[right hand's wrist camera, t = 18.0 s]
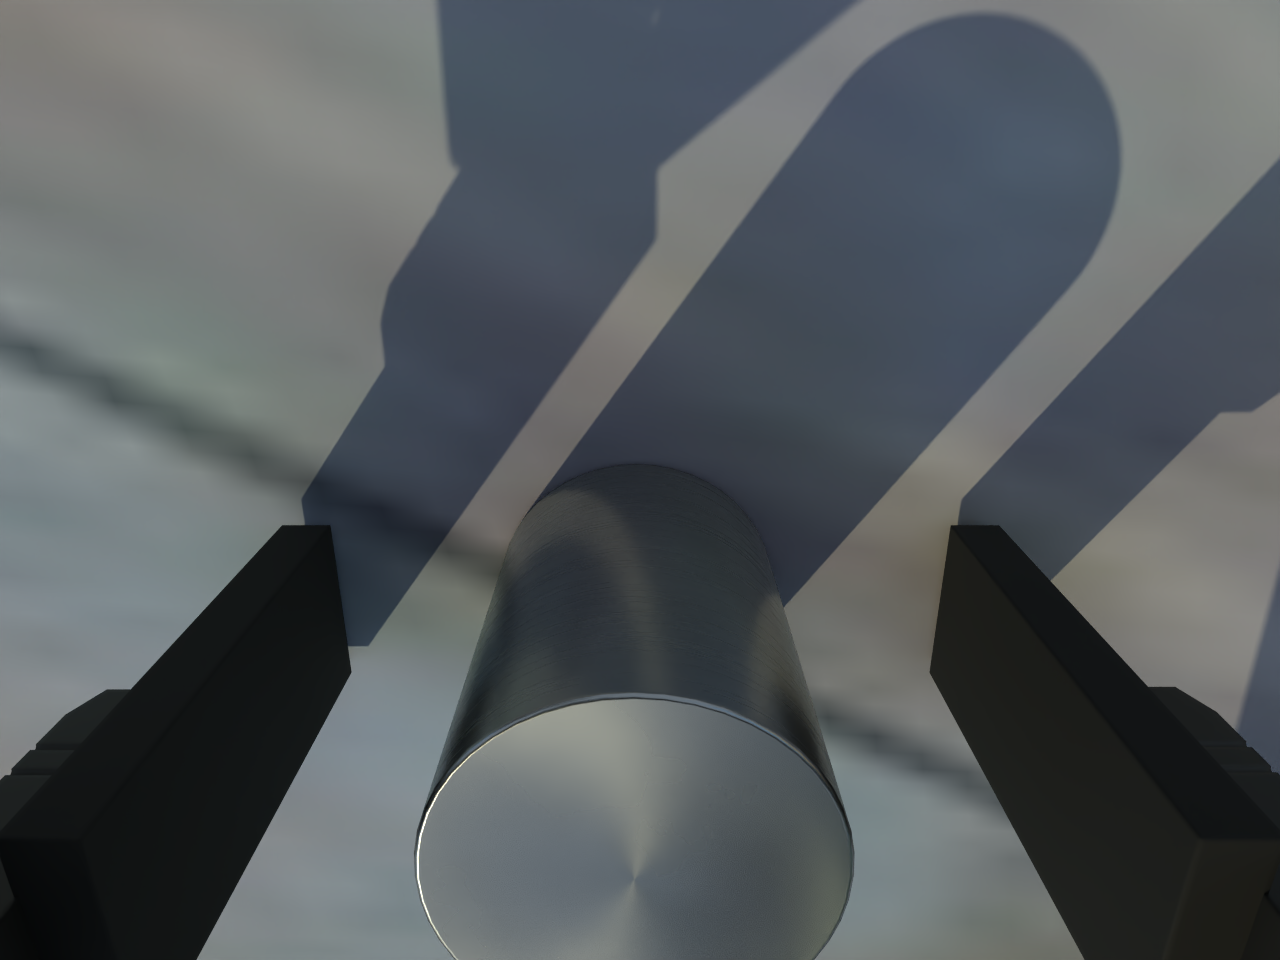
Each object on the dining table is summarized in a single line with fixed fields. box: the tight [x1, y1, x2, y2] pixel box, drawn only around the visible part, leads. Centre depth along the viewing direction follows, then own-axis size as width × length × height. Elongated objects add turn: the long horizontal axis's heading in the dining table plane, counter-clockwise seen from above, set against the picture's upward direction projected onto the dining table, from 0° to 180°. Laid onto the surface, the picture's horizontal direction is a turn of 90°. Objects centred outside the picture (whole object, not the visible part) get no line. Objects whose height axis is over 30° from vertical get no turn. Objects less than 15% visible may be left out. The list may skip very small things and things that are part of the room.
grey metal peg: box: [414, 464, 854, 960], centre depth 11 cm, size 4×4×6 cm
